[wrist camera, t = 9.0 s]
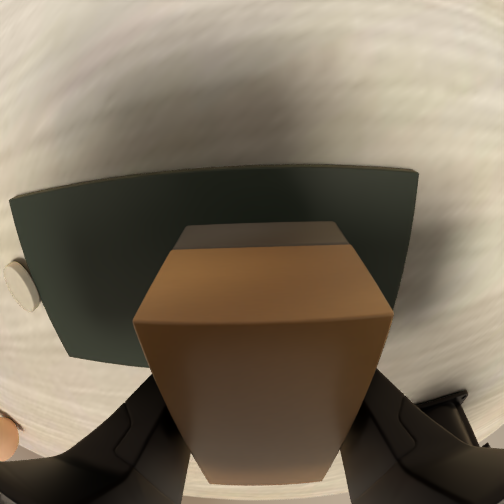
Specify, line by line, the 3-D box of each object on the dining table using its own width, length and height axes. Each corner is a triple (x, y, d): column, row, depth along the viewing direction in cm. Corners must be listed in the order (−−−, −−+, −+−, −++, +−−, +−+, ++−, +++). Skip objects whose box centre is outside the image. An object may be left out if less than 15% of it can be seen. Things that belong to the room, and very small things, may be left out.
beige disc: (28, 263, 11) (20, 269, 11) (46, 311, 13) (40, 317, 12) (4, 258, 12) (-2, 263, 11) (21, 301, 13) (15, 306, 13)
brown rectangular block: (335, 220, 7) (396, 313, 4) (311, 399, 11) (322, 481, 7) (184, 224, 8) (129, 321, 4) (217, 401, 11) (209, 484, 8)
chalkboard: (412, 169, 10) (419, 172, 9) (373, 354, 14) (376, 362, 14) (15, 196, 10) (8, 200, 10) (72, 350, 15) (69, 356, 14)
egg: (-6, 407, 24) (-26, 445, 16) (4, 409, 23) (-17, 451, 15) (17, 429, 26) (0, 466, 18) (30, 432, 25) (12, 473, 18)
